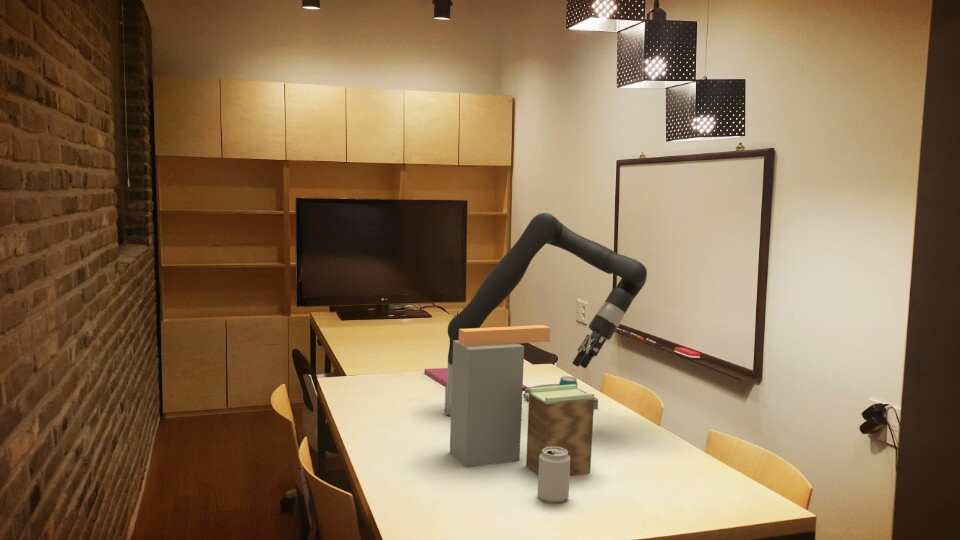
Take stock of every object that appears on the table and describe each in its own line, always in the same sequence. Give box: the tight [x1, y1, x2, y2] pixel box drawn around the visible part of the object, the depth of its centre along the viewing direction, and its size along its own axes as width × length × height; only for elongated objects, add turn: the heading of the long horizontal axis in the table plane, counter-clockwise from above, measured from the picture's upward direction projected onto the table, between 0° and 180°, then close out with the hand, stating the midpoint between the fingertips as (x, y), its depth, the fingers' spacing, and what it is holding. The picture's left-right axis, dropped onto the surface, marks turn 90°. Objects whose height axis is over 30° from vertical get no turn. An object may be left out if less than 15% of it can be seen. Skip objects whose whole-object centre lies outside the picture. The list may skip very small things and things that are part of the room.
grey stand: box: [449, 340, 525, 468], centre depth 203 cm, size 16×12×32 cm
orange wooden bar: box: [459, 324, 551, 347], centre depth 203 cm, size 26×4×4 cm, turn 113°
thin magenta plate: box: [423, 367, 529, 392], centre depth 282 cm, size 40×4×27 cm
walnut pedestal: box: [525, 394, 595, 477], centre depth 196 cm, size 14×10×20 cm
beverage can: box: [558, 376, 578, 386], centre depth 235 cm, size 6×6×15 cm
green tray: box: [528, 384, 595, 404], centre depth 195 cm, size 14×10×2 cm
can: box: [537, 447, 570, 504], centre depth 178 cm, size 8×8×12 cm
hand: (578, 365), depth 219 cm, fingers open, 8 cm apart
